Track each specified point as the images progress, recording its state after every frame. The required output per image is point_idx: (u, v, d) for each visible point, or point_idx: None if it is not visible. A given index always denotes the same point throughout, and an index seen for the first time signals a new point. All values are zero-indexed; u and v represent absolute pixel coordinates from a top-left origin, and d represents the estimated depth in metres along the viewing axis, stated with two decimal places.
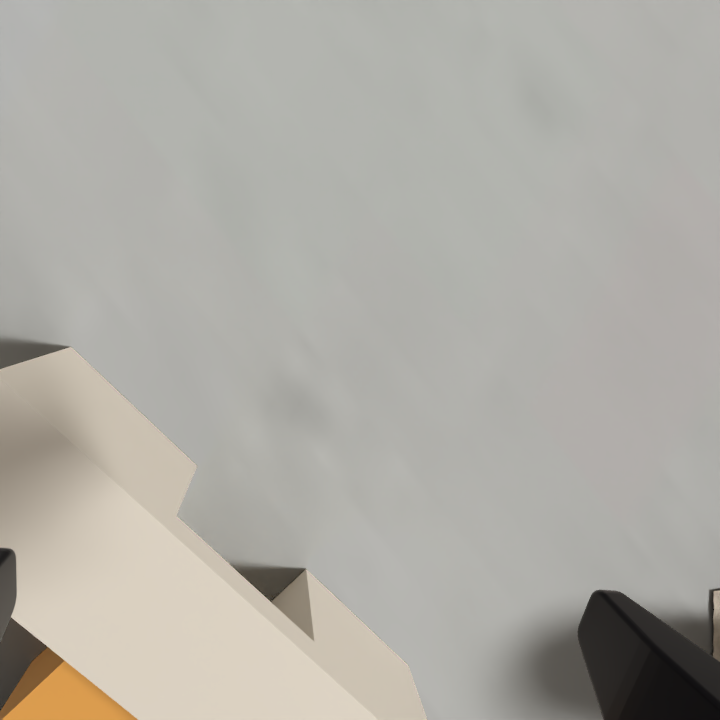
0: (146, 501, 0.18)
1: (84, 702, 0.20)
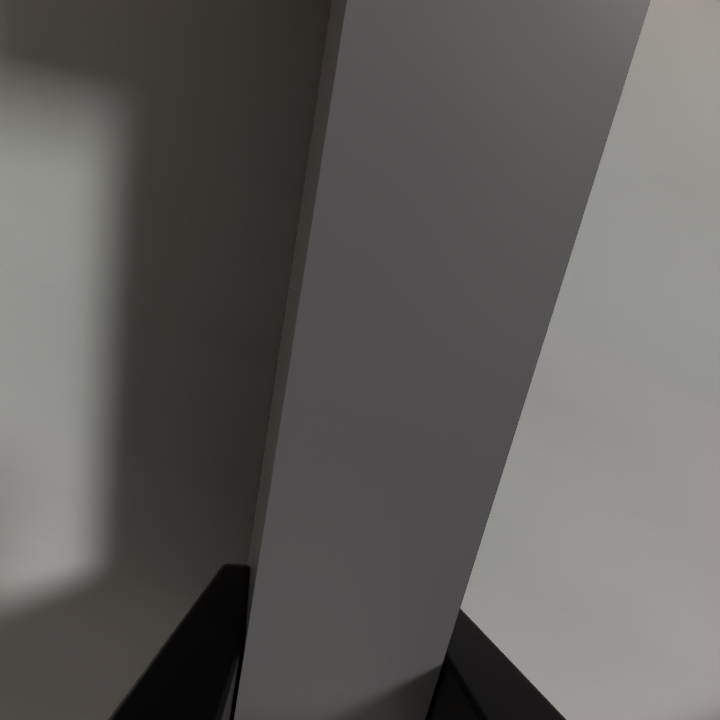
0: None
1: None
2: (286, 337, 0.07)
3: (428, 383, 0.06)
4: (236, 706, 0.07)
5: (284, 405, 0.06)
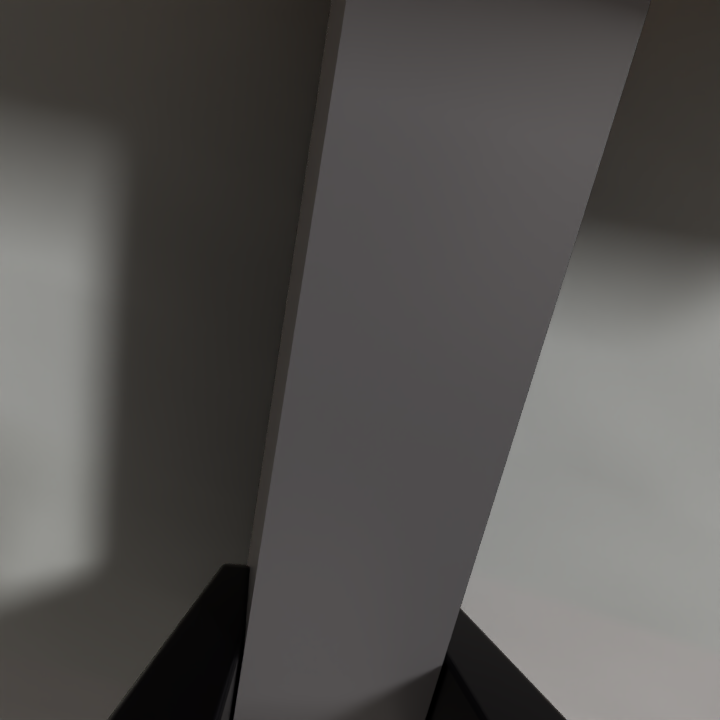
0: None
1: None
2: (284, 349, 0.07)
3: (424, 398, 0.06)
4: (234, 715, 0.07)
5: (281, 420, 0.06)
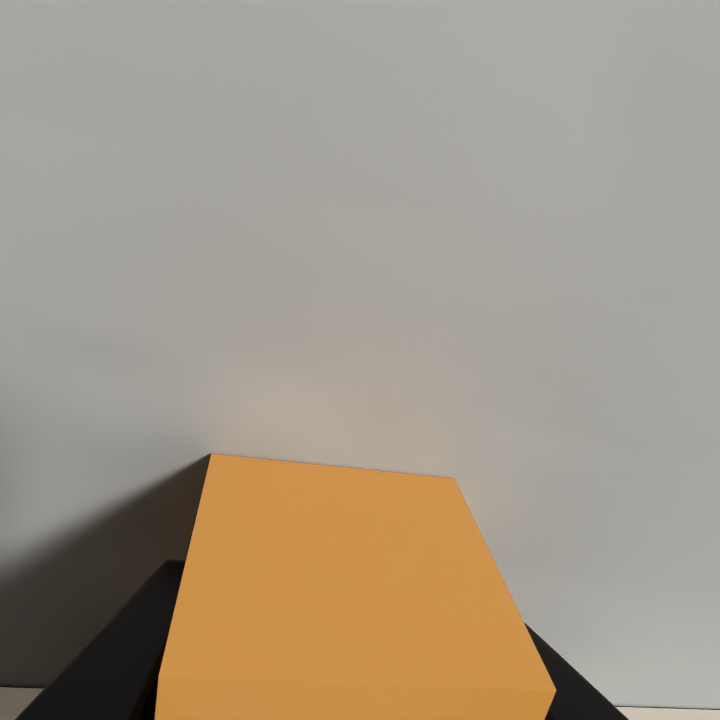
0: None
1: None
2: None
3: None
4: None
5: None
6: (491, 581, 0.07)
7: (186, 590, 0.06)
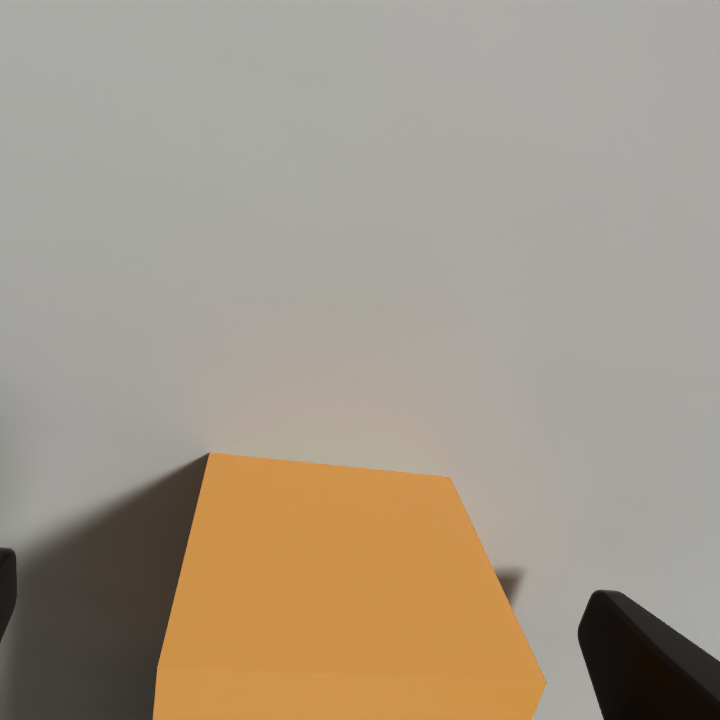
0: None
1: None
2: None
3: None
4: None
5: None
6: (484, 576, 0.08)
7: (184, 585, 0.07)
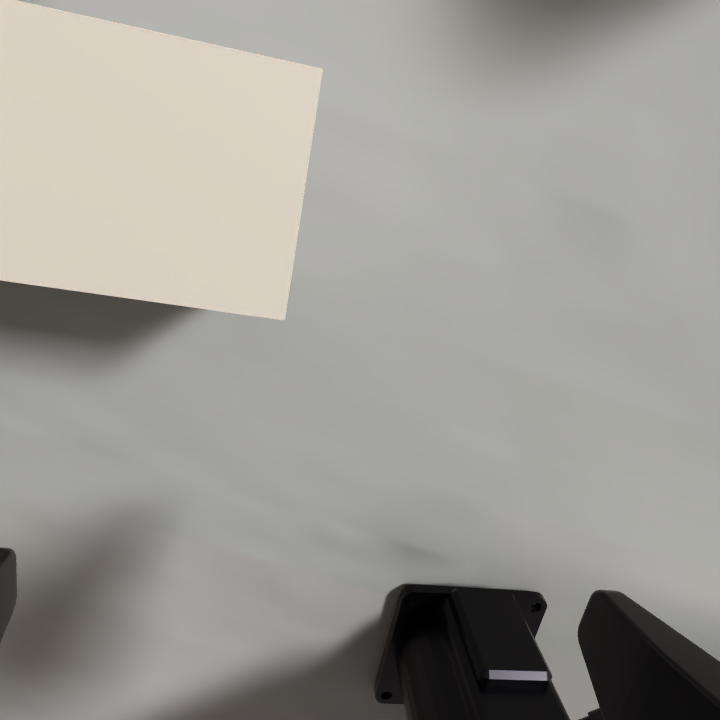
0: None
1: None
2: None
3: None
4: None
5: None
6: None
7: None
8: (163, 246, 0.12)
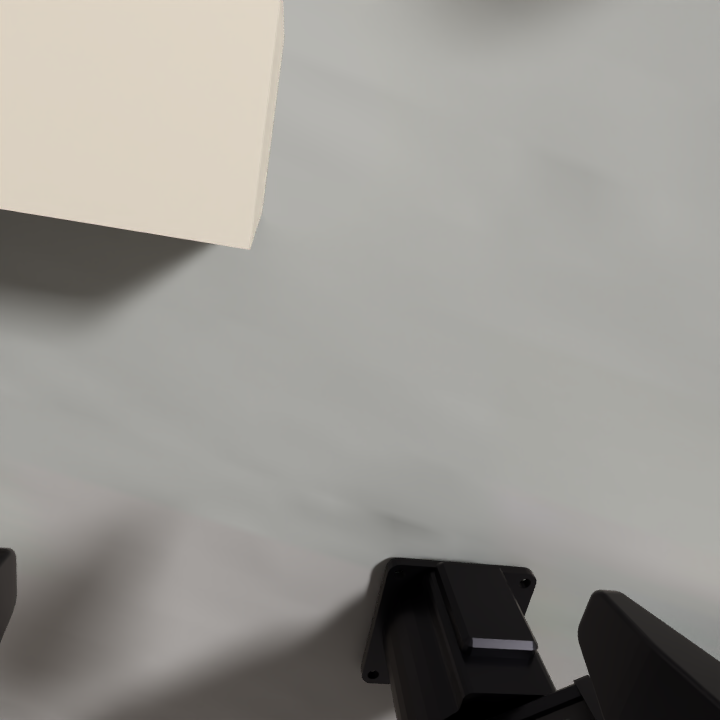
0: None
1: None
2: None
3: None
4: None
5: None
6: None
7: None
8: (125, 169, 0.12)
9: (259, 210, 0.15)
